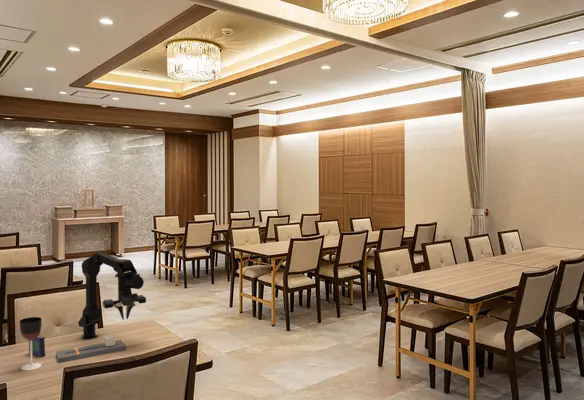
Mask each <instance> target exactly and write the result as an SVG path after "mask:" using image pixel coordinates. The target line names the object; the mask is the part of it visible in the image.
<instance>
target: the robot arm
mask: <svg viewBox="0 0 584 400" xmlns="http://www.w3.org/2000/svg"><path fill="white" fill-rule="evenodd" d="M102 265H107V266H109V267H111V268H112V269H113V271H114V272H115V273H116V274H115V276H114V277H115V278H117V299H116V300H113V299H112V298H110V299H104V300H103V301H102V306H103V308H104V309H112V308H113V307H114V308H116V309H117V310H118V312H119V314H120V317H121V320H122V321H124V319H125V318H126V320H129V318H130V313H131V311H132V309H133V307H135V306H136V302H137V303H139V304H146V303H147V298H146V296H145V295H144V294H139V295H138V293H137V292H136V293H132V289H135V290H140V289H142V288H143V286H144V283H145V281H144V279H143V277H141V274H140V273H138V271H137V269H136V267H135V266H134V263H133V262H132V260H131V259H124V258H122V259H121V258H117V257H115V256H112V255H110V254H108V253H106V252H104V251H101V252H95V253H94V254H93V255H91V256H89V257H88V258H86V259H84V260H83V262H81V272H82V274H83V276H84V277H85V306H84V308H83V310H82V316H81V317H80V318H79V320H78V321H77V323H78V327H80V328H82V331H83V332H82V334H81V338H82V339H83V340H88V339H89V340H90V339H92V338H93V339H94V338H95V339H96V338H98V335H97V334H96V333H97V332H96V325H97V324H100V322H101V317H102V308H101V307H99V305H98V298H97V297H98V296H97V295H98V293H97V292H98V291H97V290H98V287H97V280H98V279H97V276H99V273H100V271H101V266H102ZM124 307H125V308H126V309H125V311H126V312H125V315H124ZM124 316H125V317H124Z"/></svg>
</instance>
